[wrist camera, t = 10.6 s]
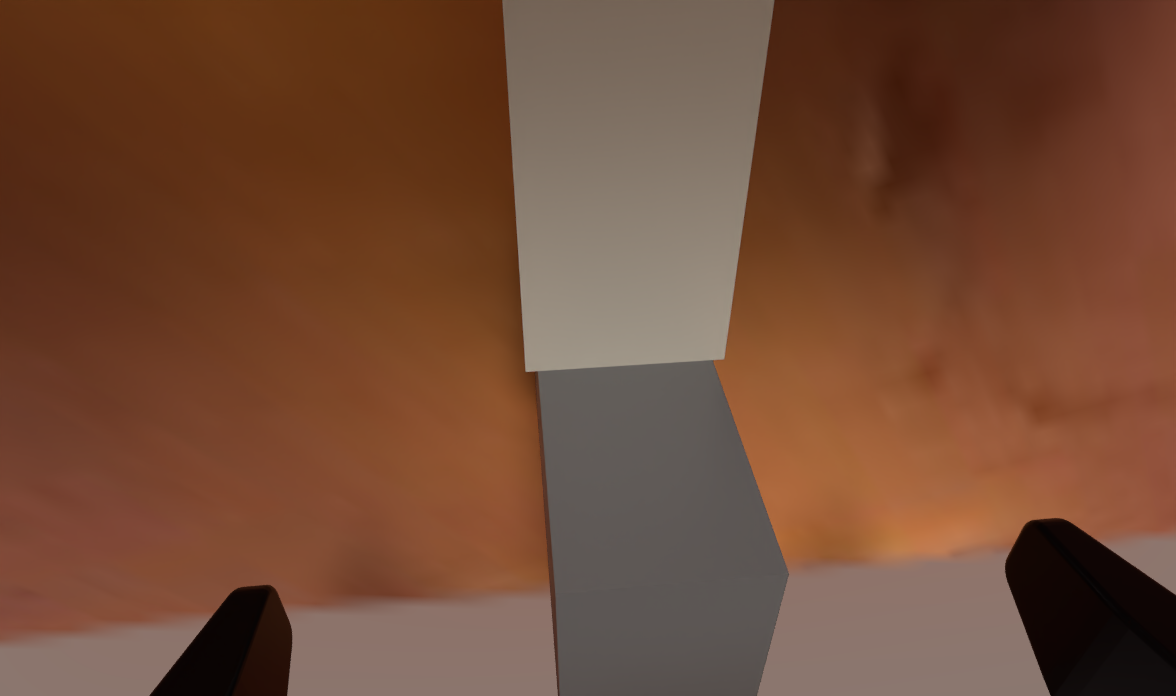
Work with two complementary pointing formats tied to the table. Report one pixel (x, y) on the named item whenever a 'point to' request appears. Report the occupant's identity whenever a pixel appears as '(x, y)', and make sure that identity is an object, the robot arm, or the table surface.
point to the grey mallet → (641, 336)
